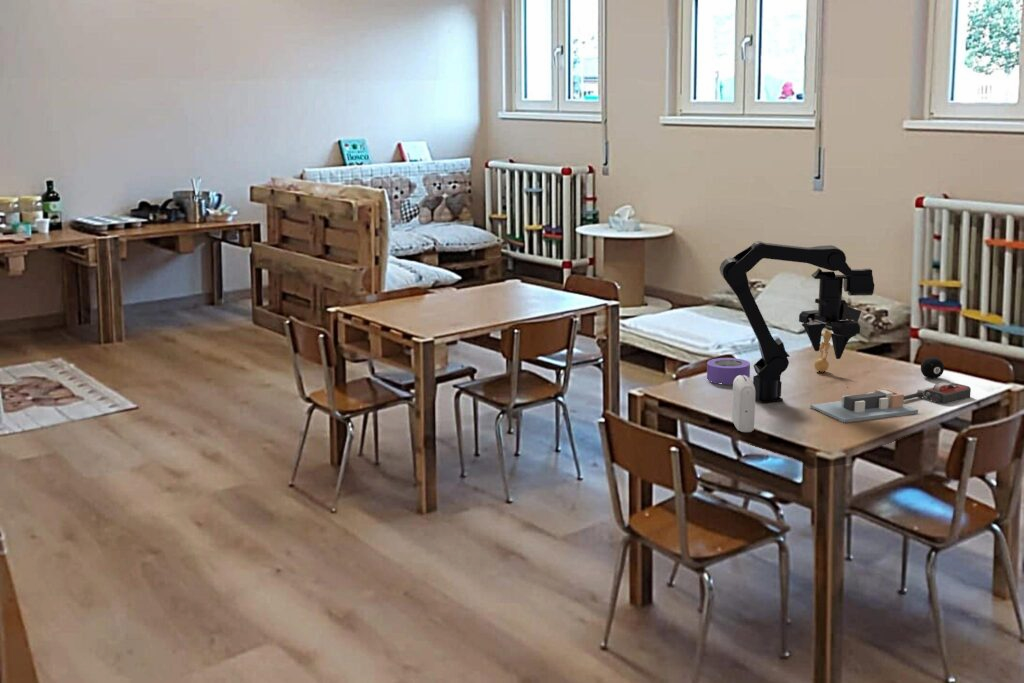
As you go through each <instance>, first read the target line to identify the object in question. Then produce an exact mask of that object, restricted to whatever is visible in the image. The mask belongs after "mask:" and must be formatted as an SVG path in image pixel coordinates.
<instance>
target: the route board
mask: <svg viewBox="0 0 1024 683" xmlns="http://www.w3.org/2000/svg"><path fill="white" fill-rule="evenodd" d="M867 393H868V392H866V393H865V394H867ZM871 393H875V391H874V392H871ZM845 396H846V395H842V396H841V400H839V401H837V400H836V401H830V402H824V403H823V402H822V403H814V404H810V406H809V408H810V407H811V408H810V409H812V408H814V409H816V410H818V411H821V412H823V413H825V414H827V415H829V416H828V417H830V416H831V417H830V418H832V417H834V418H835V420H836V419H838V420H837V421H838V422H841V423H843V422H844V423H843V424H846V423H852V422H853V421H854V422H860V421H861V422H862V421H868V420H874V419H876V420H877V419H883V418H890V417H899V416H904V415H912V414H918V413H919V409H917V408H915V407H912V406H910V405H908V404H907V405H906V404H904V403H903V407H898V408H890V406H888V400H889V398H879V407H878V408H870V409H865V401H855V408H854V411H850V410H848V409H846V408H844V399H845ZM847 396H851V395H847ZM814 409H813V410H814ZM816 410H815V411H816ZM818 411H817V412H818ZM821 412H820V413H821ZM823 413H822V414H823ZM825 414H824V415H825ZM827 415H826V416H827ZM834 418H833V419H834ZM845 422H846V423H845Z"/></svg>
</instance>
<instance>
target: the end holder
mask: <svg viewBox="0 0 1024 683" xmlns="http://www.w3.org/2000/svg"><path fill="white" fill-rule="evenodd" d="M878 390H887V391H889V392H892V393H893V395H891V401H890V408H898V407H903V404H904V400H903V399H904V396H905V395H904V393H901V392H898V391H895V390H893V389H890V388H887V387H884V388H876V389H875V391H874V393H875V392H878Z"/></svg>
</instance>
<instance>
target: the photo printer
mask: <svg viewBox="0 0 1024 683" xmlns="http://www.w3.org/2000/svg"><path fill="white" fill-rule="evenodd" d="M755 412H756V400H755V387H754V384H753V380H752V379H751V378H749V377H747V376H745V375H743V376H741V375H739V376H737V377H736V378H735V379H734V381H733V385H732V406H731V421H732V423H733V424H734V427H735V428H736V430H737V431H738V432H739V431H740V432H741V433H752V432H753V431H754V428H755V415H756V414H755Z"/></svg>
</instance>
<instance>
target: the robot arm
mask: <svg viewBox="0 0 1024 683" xmlns="http://www.w3.org/2000/svg"><path fill="white" fill-rule="evenodd" d="M763 259H767V260H775V261H785V262H795V263H803V264H809V265H813V266H815V267H818V268H816V269H817V270H816V271H814V272H813V273H812V274H811V277H812V278H813V279H815V280H819V285H818V298H815V300H814V303H815V304H818V305H817V306H818V308H817V309H814V310H813V309H812V310H811V309H810V310H803V311H801V312H800V313H799V315H798V322H799V323H801V326H802V327H803V328H804V331H805V332H806V334H807V336H808V339H809V342H810V343H811V346H812V347H813V350H814V351H815V352H820V350H819V348H820V346H821V343H822V341H821V340H822V336H821V334H822V333H823V332H822V331H823V330H824V329H825V327H826V326H828V327H831V330H832V331H831V332H832V334H831V341H832V346H833V351H834V356H835V359H837V360H840V359H842V356H843V353H844V350H845V349H846V346H847V344H848V342H849V340H850V339H852V338H853V337H856V336H857V334H861V327H862V326H861V324H860V323H859V320H860V316H861V314H862V310H861V309H857V308H854V307H852V306H849V304H848V302H846V299H843V291H844V292H847V294H848V296H849V297H850V296H853V297H854V296H863V297H864V296H873V294H874V292H875V283H874V275H873V269H871V268H862V269H855V268H854V269H852V267H851V266H850V265H849V264H848V263H847V256H846V254H845V252H844V251H843V250H842V249H840V248H838V247H837V246H835V245H831V244H830V245H817V246H807V247H806V246H798V245H796V246H795V245H787V244H778V243H771V242H763V241H757V240H756V241H755V242H753V243H752V244H751V245H750V246H748V247H747V248H745V249H743V250H742V251H740V252H739V253H737V254H735V255H734V256H733V257H728V258H725V259H724V260H723V261H722V262H721V263H720V266H719V272H720V276H722V278H723V279H724V280H725V282H726V284H727V285H728V286H729V287H730V289H731V290H732V292H733V293H734V294H735V296H736V298H737V300H738V302H739V304H740V306H741V308H742V310H743V313H744V314H745V316H746V320H747V321H748V324H749V325H750V327H751V329H752V332H753V333H754V335H755V338H756V340H757V342H758V348H759V352H760V356H761V357H760V358H759V360H757V362H755V363H754V364H753V369H754V371H755V373H756V374H755V375H753V380H752V382H753V384H754V387H755V402H758V403H761V404H765V403H766V404H768V403H775V402H783V401H784V399H783V397H782V381H781V376H782V374H783V373H784V372H785V371H786V370H787V369H788V366H789V365H790V364H789V363H790V361H789V358H790V355H789V354H788V352H787V351H786V349H785V345H784V342H783V341H782V339H781V338H780V337H778V338H776V339H774V337H773V335H772V333H771V332H770V329H769V327H768V325H767V323H766V321H765V318H764V317H763V314H762V312H761V310H760V308H759V306H758V304H757V302H756V300H755V298H754V296H753V293H752V291H751V288H750V282H749V278H748V275H747V273H749V271H751V270H752V269H753V268H754V267H756V265H758V263H759V262H760V261H762V260H763ZM822 269H825V270H829V271H823V270H822ZM836 272H839V273H841V274H836Z"/></svg>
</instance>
